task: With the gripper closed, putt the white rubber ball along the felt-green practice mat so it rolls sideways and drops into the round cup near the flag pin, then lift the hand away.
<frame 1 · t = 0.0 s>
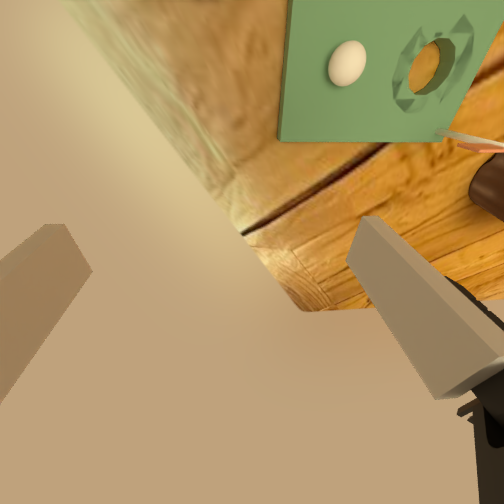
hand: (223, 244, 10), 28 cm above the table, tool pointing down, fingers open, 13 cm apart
ball: (346, 64, 25), point 4 cm above the table, touching green
green: (375, 67, 29), on the table
flag pin: (425, 128, 34), resting on green
plant pot: (501, 174, 41), on the table
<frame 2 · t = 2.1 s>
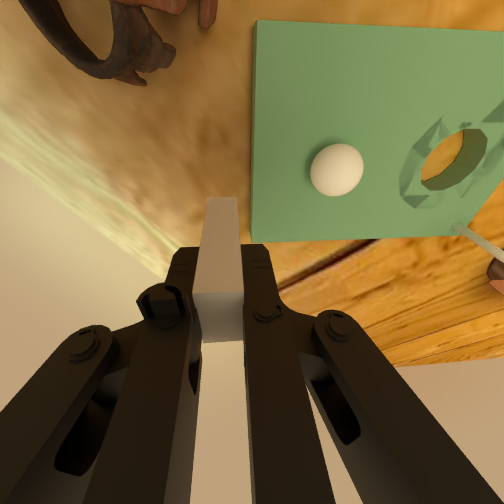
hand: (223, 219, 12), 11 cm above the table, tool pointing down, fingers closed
ball: (335, 170, 18), point 4 cm above the table, touching green
green: (376, 154, 22), on the table
flag pin: (439, 214, 27), resting on green
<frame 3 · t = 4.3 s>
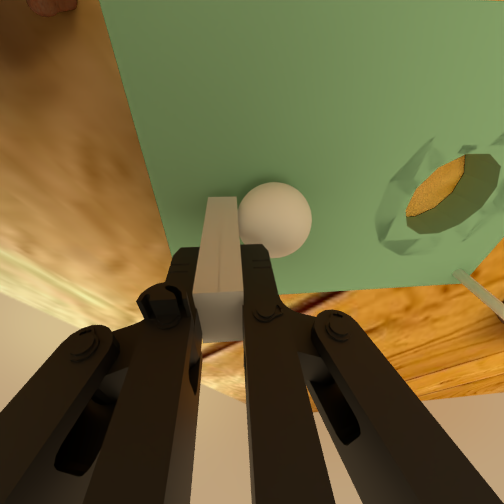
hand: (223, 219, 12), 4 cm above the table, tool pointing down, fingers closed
ball: (273, 221, 12), point 5 cm above the table, touching gripper
green: (345, 185, 16), on the table
flag pin: (435, 254, 21), resting on green
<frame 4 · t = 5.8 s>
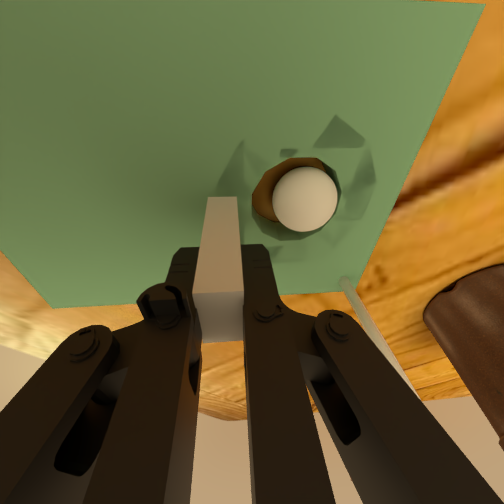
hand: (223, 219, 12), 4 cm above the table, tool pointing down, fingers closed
ball: (303, 200, 14), point 2 cm above the table, tilted 42°
green: (201, 190, 15), on the table
flag pin: (331, 260, 20), resting on green
plant pot: (471, 298, 27), on the table
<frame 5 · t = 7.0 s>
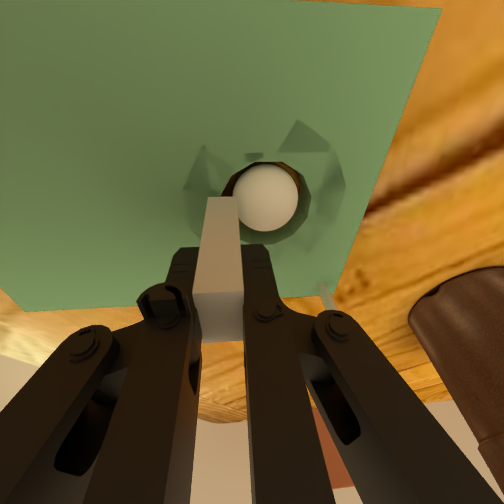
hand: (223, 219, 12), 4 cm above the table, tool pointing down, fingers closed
ball: (264, 198, 13), point 2 cm above the table, tilted 47°
green: (172, 193, 15), on the table
flag pin: (311, 263, 20), resting on green
plant pot: (455, 302, 26), on the table
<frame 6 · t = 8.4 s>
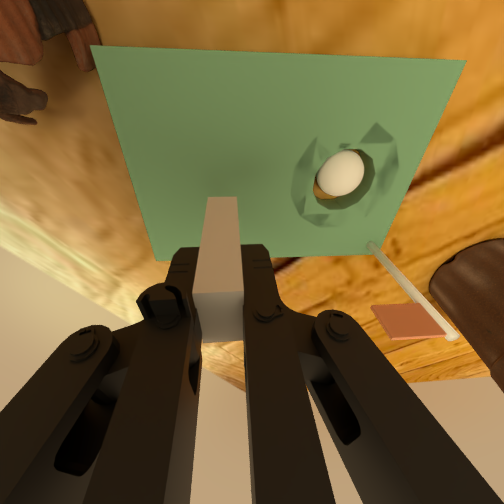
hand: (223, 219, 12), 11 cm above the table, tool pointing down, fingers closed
ball: (339, 173, 20), point 2 cm above the table, tilted 52°
green: (273, 173, 21), on the table
flag pin: (359, 232, 26), resting on green
plant pot: (468, 271, 33), on the table
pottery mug: (17, 12, 14), on the table
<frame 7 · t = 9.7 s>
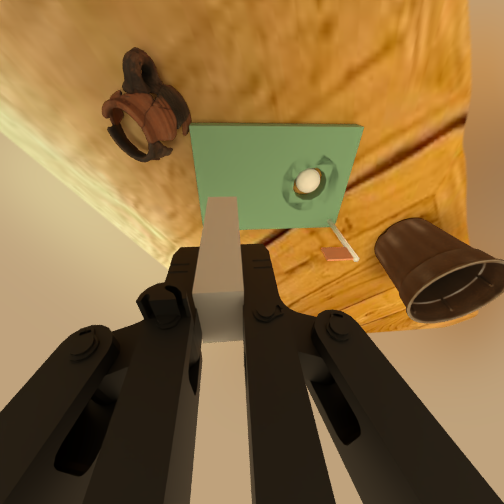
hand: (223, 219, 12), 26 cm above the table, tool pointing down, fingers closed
ball: (307, 180, 37), point 2 cm above the table, tilted 51°
green: (271, 179, 38), on the table
flag pin: (324, 213, 43), resting on green
plant pot: (399, 240, 50), on the table
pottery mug: (154, 108, 31), on the table
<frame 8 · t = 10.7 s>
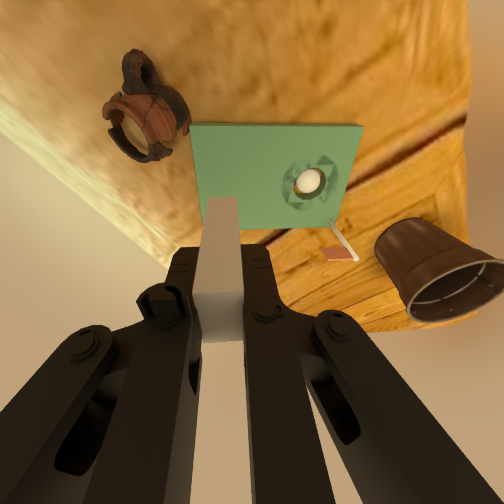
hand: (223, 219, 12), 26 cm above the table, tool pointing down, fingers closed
ball: (307, 180, 37), point 2 cm above the table, tilted 49°
green: (271, 179, 38), on the table
flag pin: (324, 213, 43), resting on green
plant pot: (399, 240, 50), on the table
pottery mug: (154, 109, 31), on the table
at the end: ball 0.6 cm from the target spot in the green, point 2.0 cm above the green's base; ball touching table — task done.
